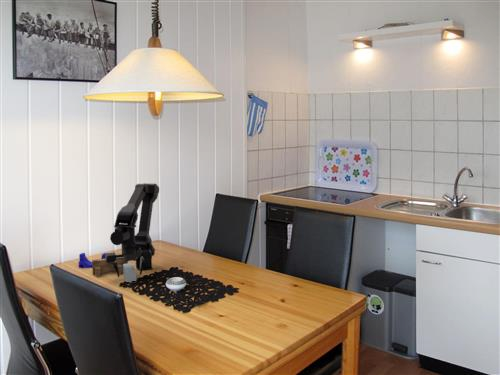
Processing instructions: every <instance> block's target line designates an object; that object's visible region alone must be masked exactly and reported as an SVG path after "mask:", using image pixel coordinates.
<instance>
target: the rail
mask: <svg viewBox="0 0 500 375" xmlns="http://www.w3.org/2000/svg"><path fill="white" fill-rule="evenodd" d="M122 275H123V278H124V280H125V283H126V282H129V283H133V282H132V281H136V282H137V270H136V267H135V266H134V264H133V262H132V263H131V262H130V263H129V262H128V264H123V272H122Z"/></svg>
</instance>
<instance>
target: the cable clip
mask: <svg viewBox="0 0 500 375" xmlns="http://www.w3.org/2000/svg"><path fill="white" fill-rule="evenodd" d="M107 253H108V252H105V253H104V252H103V253H102V254H101V258H100V259H106V254H107ZM78 256H79V261H78V268H79V269H92V260H89V258H87V255H86V252H81V253H80V254H79V255H78Z"/></svg>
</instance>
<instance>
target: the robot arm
mask: <svg viewBox="0 0 500 375" xmlns="http://www.w3.org/2000/svg"><path fill="white" fill-rule="evenodd" d="M159 194H160V186H159V185H158V184H157V183H137V184H135V186H134V190H133V193H132V194H131V196H130V198H129V200H128V202H127V204H126V205H124V206H123V207H121V209H119V211H118V213H117V215H116V219H115V223H114V226H113V228H114V231H113V232H111V234H110V237H109V239H110V242H111V243H112V244H113V245H114V246H120V245H121V253H119V254H116V252H106V253H107V254H106V262H107V263H110V264H113V266H114V268H115V270H116V272H115V273H116V276H117V278H120V275H119V271H118V266H117V261H116V259H124V260H125V261H128V262H131V261H133V262H134V261H135V269H137V271H139V275H142V274H143V271H144V270H153V269H154V268H153V266H152V265H153V264H152V263H153V262H152V260H153V256H155V252H156V248H155V247H154V245H153V244H152V241H153V240H152V238H151V236H150V230H151V223H152V222H151V221H152V220H151V219H152V214H153V213H152V212H153V208H154V207H153V206H154V203H155V202H156V200H157V199H158V196H159ZM140 206H141V211H140V217H139V214H138V210H139V208H140ZM138 217H139V225H138V231H137V233H136V227H137V225H136V224H137V221H138Z"/></svg>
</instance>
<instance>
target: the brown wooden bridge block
mask: <svg viewBox="0 0 500 375" xmlns="http://www.w3.org/2000/svg"><path fill="white" fill-rule="evenodd" d="M116 261H117V266H118V271H119V276H120V275H123V264H128V263H129V261H125V260H124V259H116ZM91 262H92V268H91V269H92V275H95V278H98V277H99V278H100V277H102V276H101V275H103V274H113V273H114V274H115V273H116V270H115V268H114V266H113V264H110V263H107V262H106V259H101V258H98V259H92V260H91Z"/></svg>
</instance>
